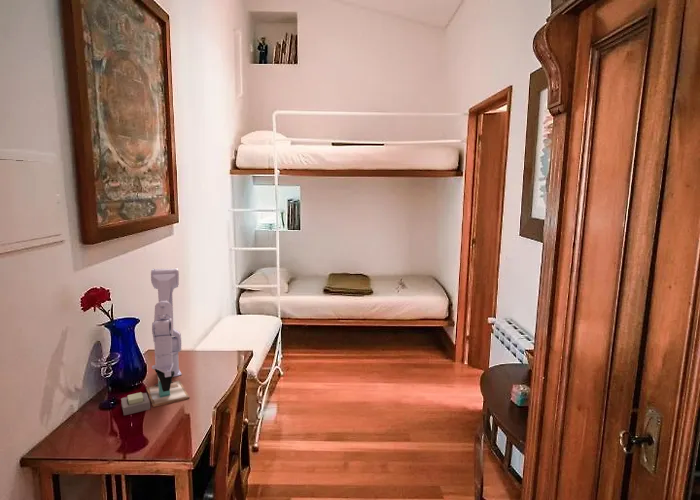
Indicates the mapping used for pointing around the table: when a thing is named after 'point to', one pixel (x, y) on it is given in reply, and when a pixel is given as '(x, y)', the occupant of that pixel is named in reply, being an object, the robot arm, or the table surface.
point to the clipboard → (175, 395)
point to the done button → (135, 398)
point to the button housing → (135, 405)
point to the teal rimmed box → (162, 390)
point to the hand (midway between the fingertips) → (165, 388)
